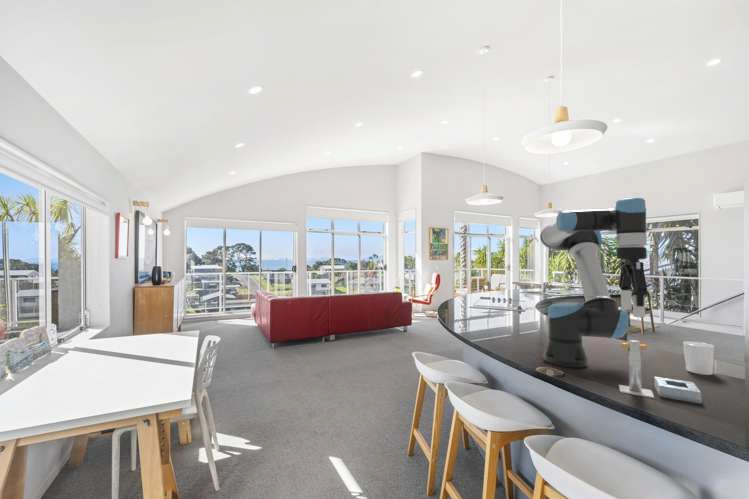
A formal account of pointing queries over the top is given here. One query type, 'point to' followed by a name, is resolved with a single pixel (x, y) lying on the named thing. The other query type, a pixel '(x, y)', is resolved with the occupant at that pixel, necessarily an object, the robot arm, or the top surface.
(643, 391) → the mat
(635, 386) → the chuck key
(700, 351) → the white cup
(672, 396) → the block
